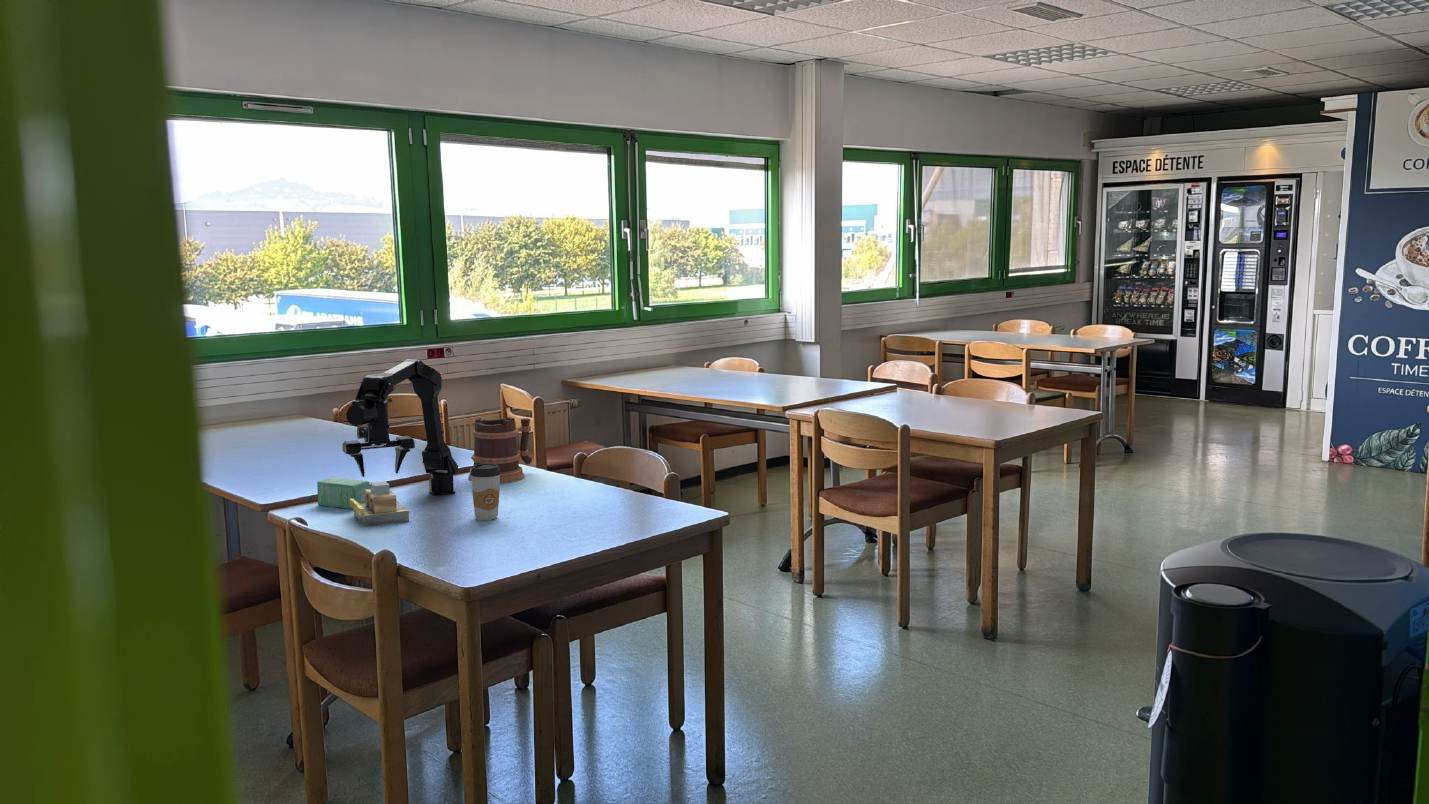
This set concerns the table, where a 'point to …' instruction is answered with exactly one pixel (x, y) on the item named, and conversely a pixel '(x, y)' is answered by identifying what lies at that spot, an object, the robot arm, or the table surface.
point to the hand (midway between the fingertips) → (380, 475)
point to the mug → (501, 446)
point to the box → (341, 492)
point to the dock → (378, 514)
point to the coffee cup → (485, 490)
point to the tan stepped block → (380, 501)
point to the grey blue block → (380, 487)
